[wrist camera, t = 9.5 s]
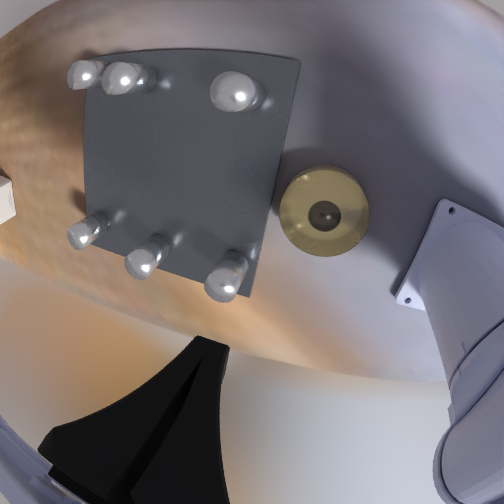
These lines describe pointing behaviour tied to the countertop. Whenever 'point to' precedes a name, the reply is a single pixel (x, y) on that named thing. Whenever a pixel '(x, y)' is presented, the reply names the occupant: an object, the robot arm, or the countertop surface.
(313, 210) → the brass nut
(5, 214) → the ink box
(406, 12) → the countertop surface
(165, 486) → the robot arm
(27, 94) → the countertop surface
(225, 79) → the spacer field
